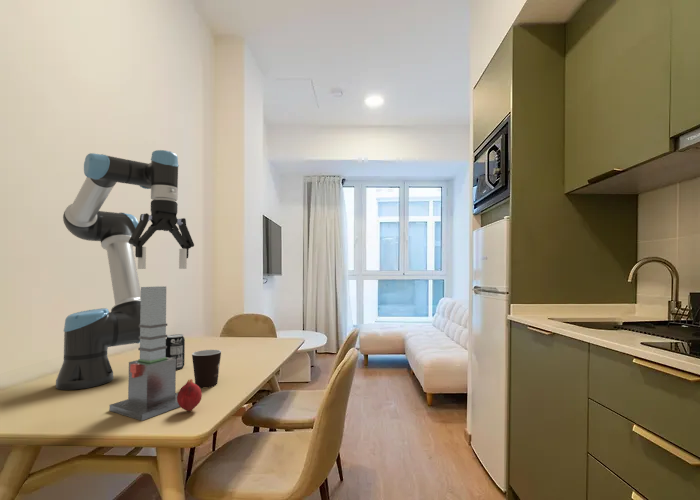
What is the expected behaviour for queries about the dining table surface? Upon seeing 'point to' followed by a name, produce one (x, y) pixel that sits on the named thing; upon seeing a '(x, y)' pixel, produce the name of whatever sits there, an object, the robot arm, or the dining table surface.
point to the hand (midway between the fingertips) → (163, 268)
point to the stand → (149, 390)
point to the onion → (189, 396)
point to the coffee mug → (206, 367)
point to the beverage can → (176, 349)
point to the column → (153, 325)
